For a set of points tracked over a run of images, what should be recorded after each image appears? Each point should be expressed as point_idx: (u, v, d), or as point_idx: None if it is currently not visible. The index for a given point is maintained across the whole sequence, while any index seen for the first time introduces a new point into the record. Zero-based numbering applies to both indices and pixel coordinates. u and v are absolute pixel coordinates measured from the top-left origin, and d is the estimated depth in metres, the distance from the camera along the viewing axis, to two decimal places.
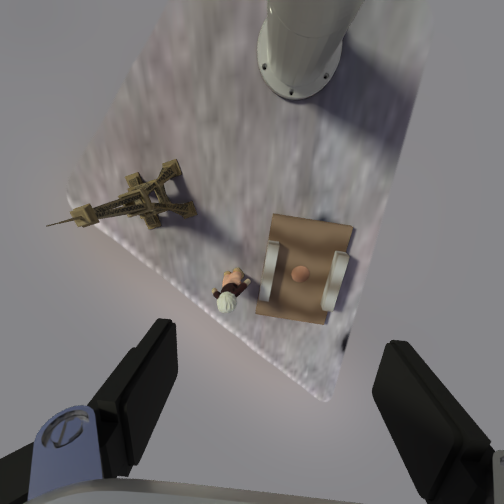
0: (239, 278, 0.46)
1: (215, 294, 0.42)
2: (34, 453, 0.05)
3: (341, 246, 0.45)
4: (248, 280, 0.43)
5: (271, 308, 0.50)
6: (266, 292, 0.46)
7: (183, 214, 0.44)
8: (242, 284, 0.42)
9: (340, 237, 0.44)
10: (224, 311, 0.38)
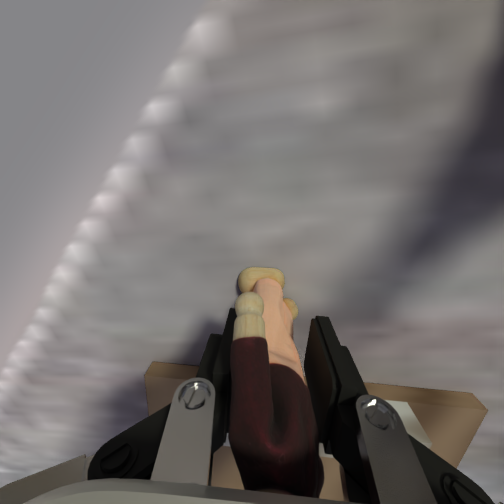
0: None
1: (262, 372, 0.06)
2: (178, 412, 0.06)
3: None
4: None
5: None
6: None
7: None
8: (322, 479, 0.08)
9: None
10: None
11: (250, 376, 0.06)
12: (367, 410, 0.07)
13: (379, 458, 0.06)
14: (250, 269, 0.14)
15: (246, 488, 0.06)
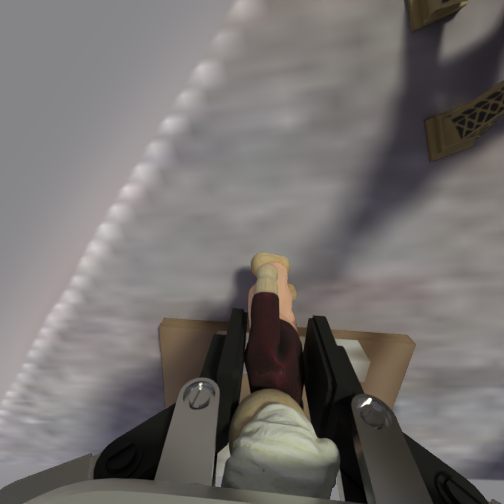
0: None
1: (275, 315, 0.09)
2: (183, 412, 0.06)
3: None
4: None
5: (183, 357, 0.21)
6: None
7: (457, 121, 0.14)
8: None
9: None
10: None
11: (266, 316, 0.09)
12: (362, 409, 0.07)
13: (373, 457, 0.06)
14: (263, 254, 0.16)
15: (253, 392, 0.09)
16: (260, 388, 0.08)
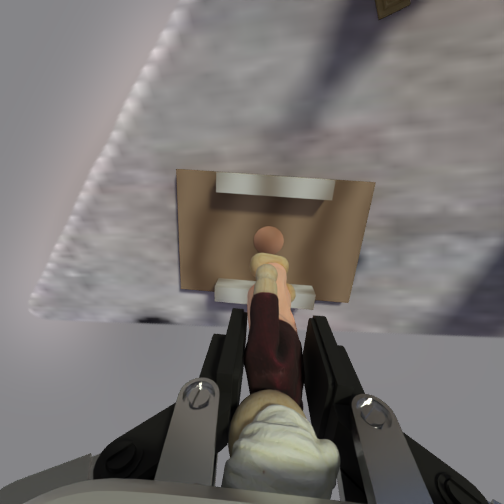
0: None
1: (274, 315, 0.09)
2: (183, 412, 0.06)
3: (318, 292, 0.30)
4: None
5: (194, 199, 0.27)
6: (235, 185, 0.24)
7: None
8: None
9: (332, 289, 0.30)
10: None
11: (266, 317, 0.09)
12: (363, 409, 0.07)
13: (373, 457, 0.06)
14: (262, 254, 0.16)
15: (252, 393, 0.09)
16: (260, 389, 0.08)
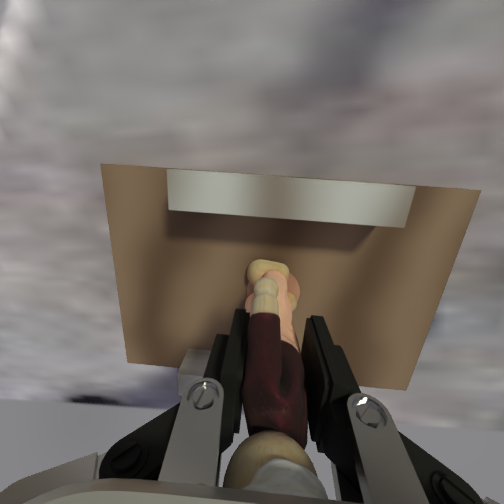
0: None
1: (276, 341, 0.08)
2: (188, 413, 0.06)
3: (356, 374, 0.18)
4: None
5: (138, 218, 0.15)
6: (207, 197, 0.12)
7: None
8: (305, 442, 0.10)
9: (381, 369, 0.18)
10: None
11: (266, 343, 0.08)
12: (358, 409, 0.07)
13: (368, 455, 0.06)
14: (260, 261, 0.15)
15: (250, 431, 0.07)
16: (259, 427, 0.07)
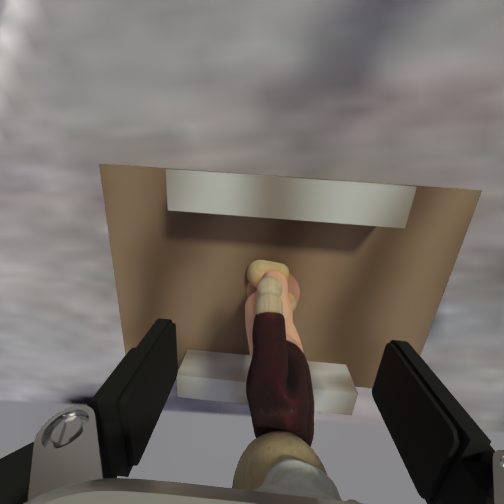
0: None
1: (282, 340, 0.08)
2: (34, 453, 0.05)
3: (357, 375, 0.18)
4: None
5: (137, 219, 0.15)
6: (206, 197, 0.12)
7: None
8: None
9: None
10: None
11: (272, 342, 0.08)
12: None
13: None
14: (260, 261, 0.15)
15: (257, 432, 0.07)
16: (266, 428, 0.07)
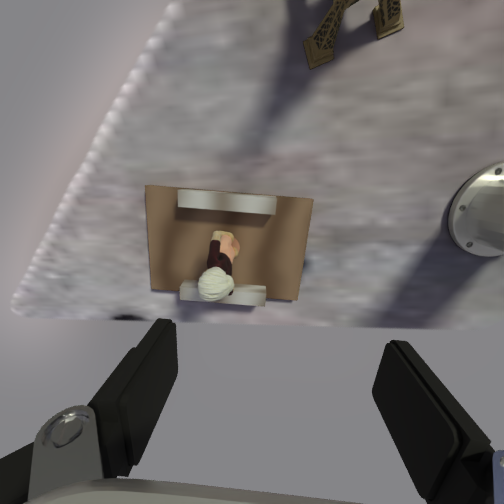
0: None
1: (217, 247, 0.25)
2: (34, 453, 0.05)
3: (271, 292, 0.35)
4: (232, 291, 0.28)
5: (161, 211, 0.31)
6: (194, 201, 0.28)
7: (315, 38, 0.25)
8: (231, 290, 0.26)
9: (283, 288, 0.35)
10: (203, 289, 0.21)
11: (214, 247, 0.24)
12: None
13: None
14: (219, 231, 0.32)
15: None
16: None
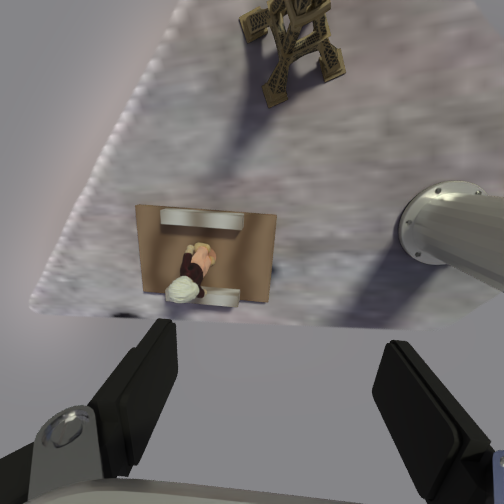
0: None
1: (188, 259, 0.30)
2: (34, 453, 0.05)
3: (245, 294, 0.40)
4: (205, 295, 0.34)
5: (149, 226, 0.37)
6: (174, 219, 0.34)
7: (270, 85, 0.30)
8: (202, 293, 0.32)
9: (255, 292, 0.40)
10: (172, 293, 0.26)
11: (186, 259, 0.30)
12: None
13: None
14: (198, 243, 0.37)
15: None
16: None
